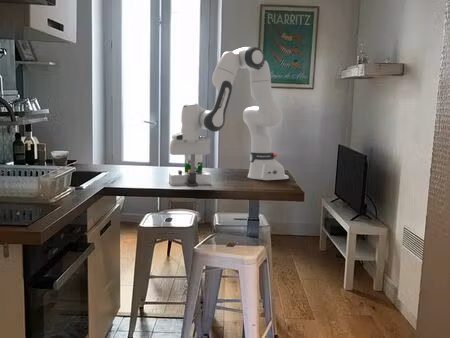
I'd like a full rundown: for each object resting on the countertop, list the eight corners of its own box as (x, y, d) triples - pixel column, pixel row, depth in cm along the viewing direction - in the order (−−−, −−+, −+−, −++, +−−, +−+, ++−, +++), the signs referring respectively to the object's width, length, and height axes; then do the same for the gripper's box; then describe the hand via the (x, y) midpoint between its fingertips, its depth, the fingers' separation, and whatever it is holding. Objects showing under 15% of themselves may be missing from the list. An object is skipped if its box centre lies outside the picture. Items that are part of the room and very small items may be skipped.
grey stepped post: (196, 184, 249) (197, 153, 246) (198, 186, 244) (199, 155, 241) (186, 185, 247) (186, 153, 245) (188, 186, 242) (188, 155, 240)
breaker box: (207, 181, 259) (207, 168, 258) (210, 184, 251) (211, 171, 250) (168, 182, 253) (169, 169, 252) (171, 185, 246) (171, 172, 245)
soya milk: (187, 178, 268) (187, 141, 266) (203, 178, 267) (204, 141, 264) (182, 180, 260) (183, 142, 257) (199, 181, 258) (200, 143, 255)
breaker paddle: (190, 172, 253) (190, 169, 253) (191, 173, 250) (191, 170, 250) (188, 172, 253) (188, 169, 252) (189, 173, 250) (189, 170, 250)
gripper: (208, 135, 254) (208, 162, 256) (169, 135, 249) (168, 162, 251) (211, 136, 248) (211, 164, 250) (171, 136, 243) (170, 164, 245)
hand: (189, 163), depth 251 cm, fingers closed
